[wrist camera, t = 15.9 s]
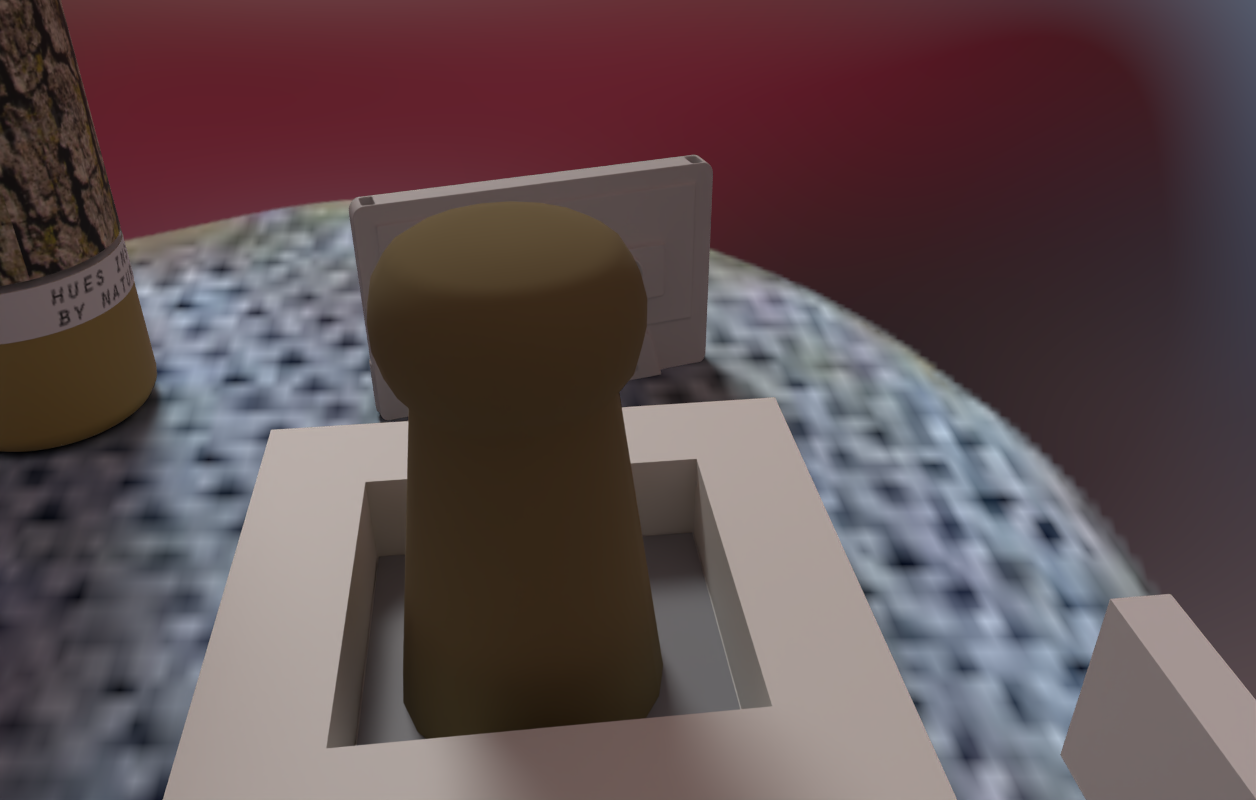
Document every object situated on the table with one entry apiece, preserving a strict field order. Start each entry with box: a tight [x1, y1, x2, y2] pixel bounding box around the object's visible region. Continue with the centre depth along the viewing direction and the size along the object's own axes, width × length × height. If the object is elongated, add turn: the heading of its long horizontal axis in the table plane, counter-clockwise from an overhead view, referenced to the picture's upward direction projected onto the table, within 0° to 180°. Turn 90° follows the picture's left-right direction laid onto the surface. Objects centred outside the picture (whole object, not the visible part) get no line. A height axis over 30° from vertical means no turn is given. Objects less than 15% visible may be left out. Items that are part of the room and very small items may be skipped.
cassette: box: [349, 155, 713, 420], centre depth 36 cm, size 12×2×8 cm, turn 110°
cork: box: [367, 201, 663, 739], centre depth 22 cm, size 6×6×11 cm
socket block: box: [163, 398, 957, 800], centre depth 25 cm, size 14×14×4 cm
